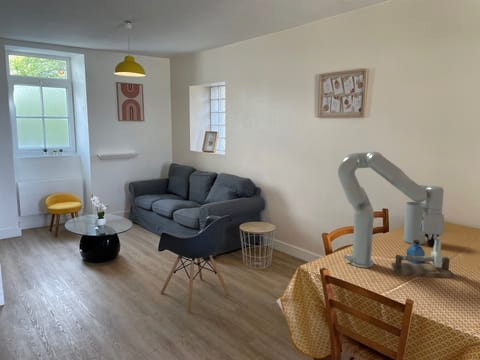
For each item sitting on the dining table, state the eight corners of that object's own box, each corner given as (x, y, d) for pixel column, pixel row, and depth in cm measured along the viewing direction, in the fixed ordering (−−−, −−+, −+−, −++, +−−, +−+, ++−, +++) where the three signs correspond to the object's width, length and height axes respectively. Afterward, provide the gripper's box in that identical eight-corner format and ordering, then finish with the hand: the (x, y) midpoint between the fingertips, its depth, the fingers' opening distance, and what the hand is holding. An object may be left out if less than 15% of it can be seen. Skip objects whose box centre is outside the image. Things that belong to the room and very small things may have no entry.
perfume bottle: (414, 264, 192) (416, 243, 191) (406, 260, 198) (407, 239, 196) (423, 263, 194) (425, 242, 192) (415, 259, 200) (417, 238, 198)
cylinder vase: (428, 245, 223) (431, 206, 219) (408, 244, 223) (411, 206, 219) (419, 238, 235) (422, 201, 231) (400, 238, 236) (402, 201, 232)
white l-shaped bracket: (435, 267, 178) (437, 240, 176) (430, 262, 184) (432, 236, 182) (441, 267, 178) (443, 240, 176) (436, 262, 184) (438, 236, 182)
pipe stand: (398, 275, 178) (399, 259, 177) (391, 266, 190) (392, 251, 189) (453, 277, 175) (455, 261, 174) (442, 268, 187) (443, 253, 186)
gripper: (420, 212, 174) (417, 248, 177) (452, 213, 173) (449, 249, 176) (414, 209, 182) (412, 243, 185) (445, 209, 180) (442, 244, 183)
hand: (430, 246), depth 180 cm, fingers closed
